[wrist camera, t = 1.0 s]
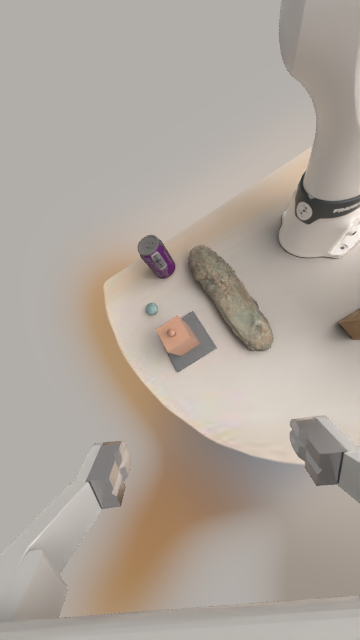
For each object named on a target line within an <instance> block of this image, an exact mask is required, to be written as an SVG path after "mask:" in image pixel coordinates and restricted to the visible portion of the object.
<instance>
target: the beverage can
mask: <svg viewBox="0 0 360 640" xmlns="http://www.w3.org/2000/svg"><path fill="white" fill-rule="evenodd" d="M138 252H139V253H140V256H141V258H142V259H143V260H144V262H145V263H146V264H147V265H148V266H149V267H150V268H151V270H152V271H153V272H154V273H155V274H156V275H157V276H158V277H159V278H166V277H169V276H170V275H171V274H172V273H173V272H174V270H175V263H174V261H173V259H172V258H171V256H170V254H169V253H168V251H167V249H166V248H165V246H164V245H163V243H162V241H161V240H159V239H158V238H157V237H156V236H154V235H148V236H146V237H144V238H143V239H142V240H141V241H140V242H139V245H138Z"/></svg>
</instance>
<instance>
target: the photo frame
mask: <svg viewBox="0 0 360 640" xmlns="http://www.w3.org/2000/svg"><path fill="white" fill-rule="evenodd" d="M338 323H339V324H340V325H341V326H342V327H343V328H344V330H345V331H346V332H347V333H348V334H349V335H350V336H351V338H352V339H353V340H360V309H359V310H357V311H356V312H354V313H353V314H351V315H349V316H348V317H346V318H344V319H343V320H341V321H340V322H338Z"/></svg>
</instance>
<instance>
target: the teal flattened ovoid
mask: <svg viewBox="0 0 360 640" xmlns="http://www.w3.org/2000/svg"><path fill="white" fill-rule="evenodd" d="M146 312H147V313H148V314H150V315H154V314H156V313H157V312H158V306H157V305H156V304H155V303H150V304H148V305H147V307H146Z"/></svg>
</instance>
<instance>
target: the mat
mask: <svg viewBox="0 0 360 640" xmlns="http://www.w3.org/2000/svg"><path fill="white" fill-rule="evenodd" d="M182 320H183V321H185V322H186V323H187V324H188V325H189V326H190V328H191V329H192V331H193V333H194V334H195V336H196V338H197V339H198V341H199V343H200V345H198V346H196V347H195V348H193V349H192V350H190V351H189V352H187V353H185V354H184V355H182V356H179V355H175V354H172V353H168V352H167V353H168V355H169V357H170V359H171V361H172V363H173V364H174V366H175V368H176V370H177V372H179V371H181V370H182V369H184V368H185V367H187V366H189V365H190V364H192V363H193V362H195V361H197V360H198V359H200V358H201V357H203V356H205V355H206V354H208V353H209V352H211V351H213V350H214V349H216V346H215V345H214V343H213V341H212V340H211V338H210V337H209V335H208V334H207V332H206V331H205V329H204V328H203V326H202V324H201V323H200V321H199V320H198V318H197V317H196V315H195V314H194V312H193V311H192V312H191V313H189V314H188V315H186V316H185V317H183V318H182Z"/></svg>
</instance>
